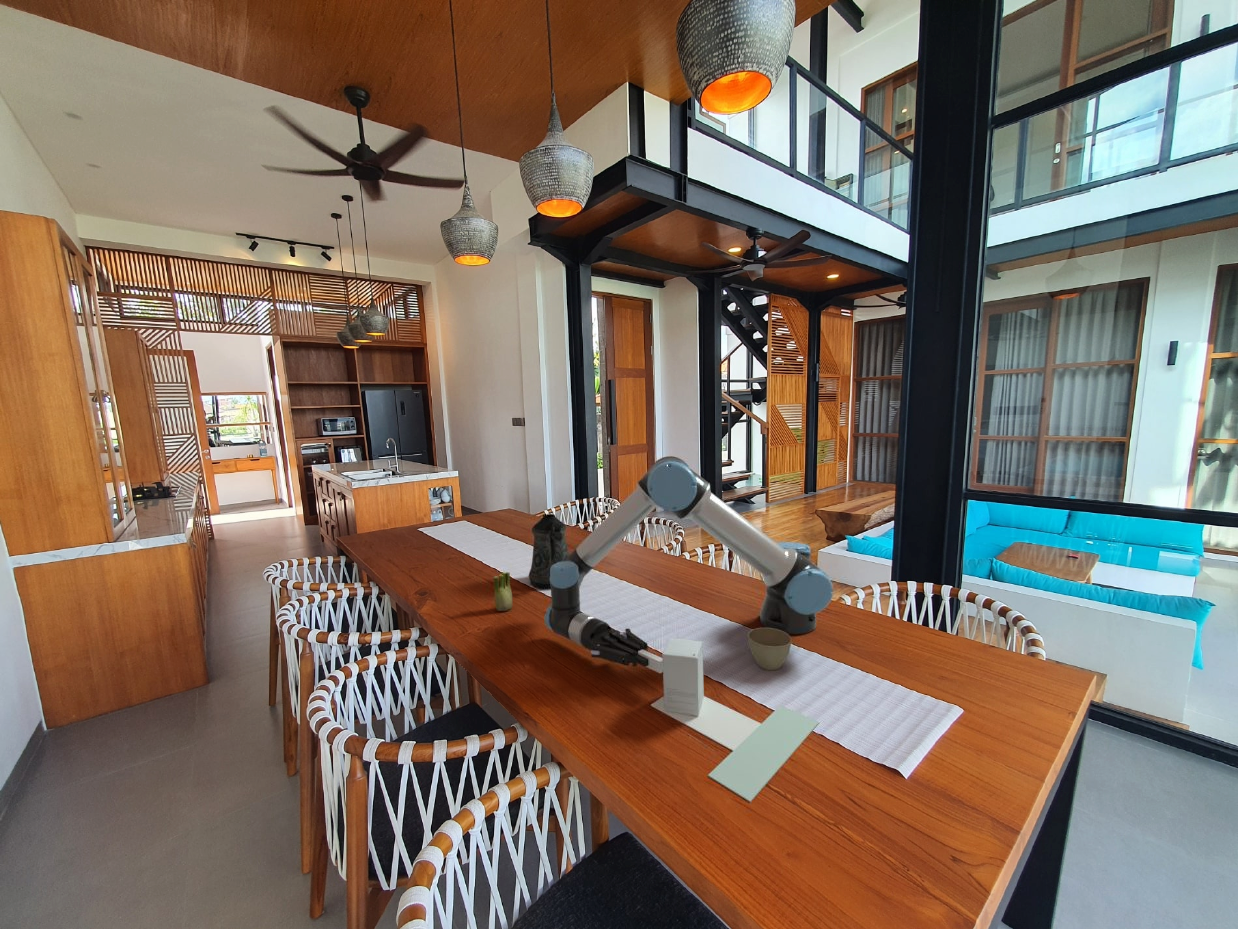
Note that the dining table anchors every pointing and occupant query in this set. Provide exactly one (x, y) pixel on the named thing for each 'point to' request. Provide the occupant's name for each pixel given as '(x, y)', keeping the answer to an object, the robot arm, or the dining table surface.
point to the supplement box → (683, 676)
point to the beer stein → (547, 549)
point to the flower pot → (769, 647)
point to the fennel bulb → (503, 592)
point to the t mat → (747, 742)
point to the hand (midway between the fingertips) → (662, 666)
